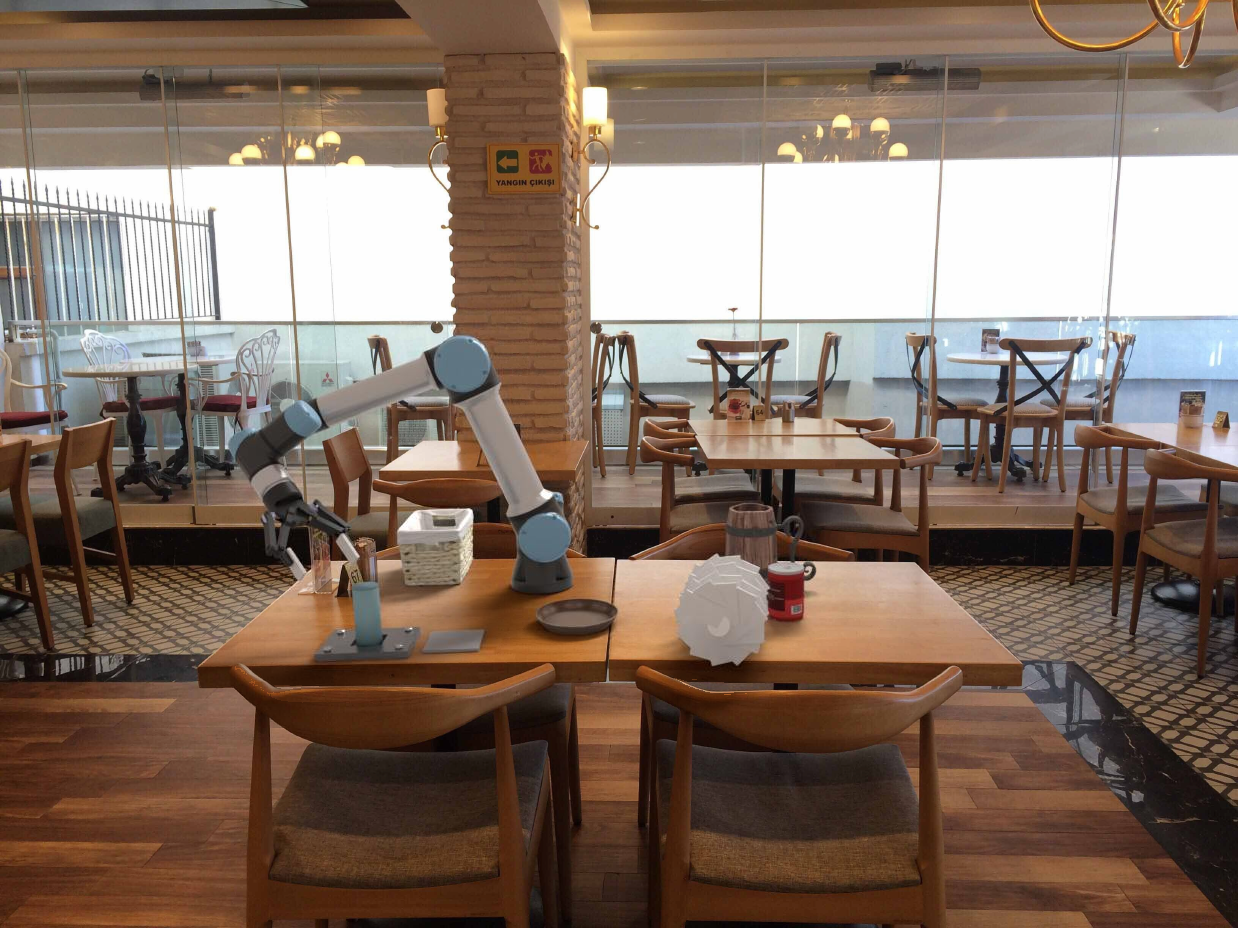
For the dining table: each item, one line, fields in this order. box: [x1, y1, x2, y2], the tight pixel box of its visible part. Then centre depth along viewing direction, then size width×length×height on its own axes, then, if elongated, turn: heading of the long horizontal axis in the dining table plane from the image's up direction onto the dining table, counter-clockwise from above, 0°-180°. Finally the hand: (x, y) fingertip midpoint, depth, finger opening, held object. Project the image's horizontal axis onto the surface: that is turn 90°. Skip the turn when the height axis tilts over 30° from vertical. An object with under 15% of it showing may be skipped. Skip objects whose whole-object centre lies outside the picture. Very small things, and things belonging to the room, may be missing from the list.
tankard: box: [724, 502, 817, 601], centre depth 220 cm, size 24×17×20 cm
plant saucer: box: [535, 597, 619, 636], centre depth 202 cm, size 18×18×3 cm
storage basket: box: [396, 507, 475, 587], centre depth 242 cm, size 24×16×15 cm
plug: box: [351, 581, 384, 646], centre depth 190 cm, size 5×5×13 cm
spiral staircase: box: [673, 553, 770, 667], centre depth 183 cm, size 18×18×25 cm
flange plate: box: [314, 626, 422, 662], centre depth 191 cm, size 18×14×2 cm
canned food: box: [767, 561, 805, 623], centre depth 202 cm, size 8×8×11 cm
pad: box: [422, 629, 485, 654], centre depth 192 cm, size 11×11×1 cm
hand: (330, 568), depth 194 cm, fingers open, 13 cm apart
